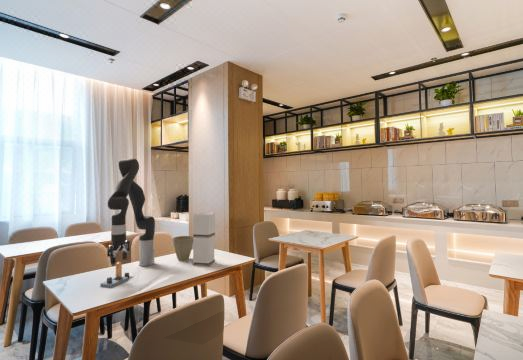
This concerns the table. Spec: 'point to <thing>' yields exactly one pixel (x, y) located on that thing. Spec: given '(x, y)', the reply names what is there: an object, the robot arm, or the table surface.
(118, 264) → the copper pin
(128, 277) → the lower chain link
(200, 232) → the tall lidded box
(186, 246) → the plant pot
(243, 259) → the table surface
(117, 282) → the upper chain link
